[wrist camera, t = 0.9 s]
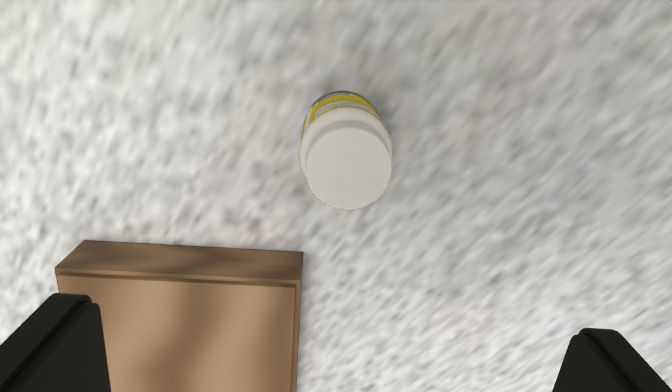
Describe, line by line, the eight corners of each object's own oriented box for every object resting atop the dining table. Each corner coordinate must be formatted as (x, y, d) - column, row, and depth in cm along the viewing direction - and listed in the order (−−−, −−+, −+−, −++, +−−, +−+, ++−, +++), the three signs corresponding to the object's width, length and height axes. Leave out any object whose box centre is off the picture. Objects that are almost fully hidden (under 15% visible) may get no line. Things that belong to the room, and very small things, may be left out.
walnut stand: (303, 252, 31) (300, 284, 27) (295, 393, 36) (292, 436, 32) (84, 240, 30) (50, 271, 27) (106, 385, 35) (81, 428, 32)
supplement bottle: (351, 177, 29) (360, 236, 21) (289, 138, 28) (275, 186, 20) (394, 116, 28) (421, 156, 20) (331, 73, 27) (333, 97, 19)
